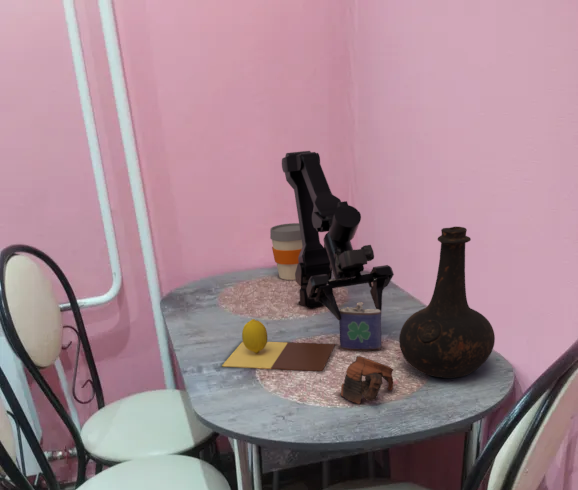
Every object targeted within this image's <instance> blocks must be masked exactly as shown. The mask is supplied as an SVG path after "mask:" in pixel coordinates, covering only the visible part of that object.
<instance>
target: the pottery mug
mask: <svg viewBox="0 0 578 490" xmlns="http://www.w3.org/2000/svg"><path fill="white" fill-rule="evenodd" d="M355 358H356V359H355V360H354V361H353V362H352V363H350V365H349V366H347V369H346V371H345V373H346V374H345V376H344V380H343V383H342V384H341V387H340V396H341V397H343V398H345V400H347V401H349V402H352V403H354V404H357V405H361V401H362V399H363V398H364V400H366V401H368V402H369V401H370V402H371V401H375V400H377V397H378V395H379V392H380V389H381V387H382V384H383V379H384V380H385V381H386V382H387V390H388V391H393V388H394V377H393V375H392V374H393V372H394V369H393V368H392V367H391V366H388V365H386V364H384V363H383V364H382V363H381V362H377V361H375V360H372V359H369V358H367V357H365V356H364V357H363V356H360V355H357V356H356V357H355ZM363 377H364V379H365V380H363Z"/></svg>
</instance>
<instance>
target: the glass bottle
mask: <svg viewBox="0 0 578 490" xmlns="http://www.w3.org/2000/svg"><path fill="white" fill-rule="evenodd" d="M440 232H441V235H439V236H438V237H437V241H438V242H439V243H440V249H439V250H440V251H439V262H438V269H437V274H436V280H435V284H434V285H435V286H434V289H433V292H432V296H431V298H430V301H429V303H428V305H427V306H426V307H424V308H422V309H420V310H418V311H416V312H414V313H412V314H411V315H410V316H409V317H408V318H407V319H406V320H405V322H404V323H403V325H402V327H401V329H400V333H399V338H398V339H399V340H398V341H399V349H400V352H401V354H402V356H403V358H404V359H405V361H406V362H407V363H408V364H409V365H410V366H411V367H412V368H413V369H414V370H416V371H417V372H419V373H422V374H424V375H427V376H432V377H435V378H443V379H456V378H461V377H464V376H467V375H470V374H471V373H473V372H475V371H477V370H478V369H479V368H480V367H481V366H483V365H484V363H486V361H487V360H488V359H489V357H490V356H491V355H492V352H493V350H494V347H495V340H496V337H495V335H496V334H495V330H494V328H493V325H492V324H491V322H490V321H489V320H488V319H487V317H486V316H484V315H483V314H482V313H480V312H479V311H477V310H475V309H474V308H471V307H470V306H469V303H468V298H467V288H466V244H467V243H469V242H470V241H471V240H472V239H471V237H469V236H468V235H467V228H466V227H464V226H450V227H443V228H441V230H440Z"/></svg>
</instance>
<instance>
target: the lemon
mask: <svg viewBox="0 0 578 490" xmlns="http://www.w3.org/2000/svg"><path fill="white" fill-rule="evenodd" d="M241 332H242V333H241V339H242V341H243V343H244V345H245V347H246V348H247V349H248V350H250V351H253V352H254V353H258V352H259V351H260V350H262V349H263V348H264V347H265V346H266V344H267V342H268V331H267V328H266V326H265V325H264V324H263V322H261V321H260V320H257V319H255V318H253V319H251V320H249V321H247V322H246V323H245V324H244V326H243V328H242V331H241Z"/></svg>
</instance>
